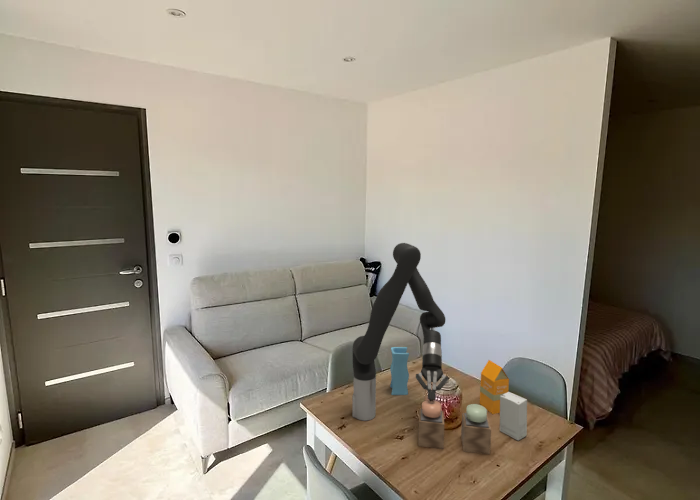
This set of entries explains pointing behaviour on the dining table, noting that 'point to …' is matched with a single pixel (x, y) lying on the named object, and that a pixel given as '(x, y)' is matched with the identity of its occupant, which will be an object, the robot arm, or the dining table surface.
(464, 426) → the pillar
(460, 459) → the dining table surface
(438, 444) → the pillar
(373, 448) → the dining table surface
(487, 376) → the orange juice
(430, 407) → the terracotta button
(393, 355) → the vase
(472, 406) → the sage button
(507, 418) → the skincare box
